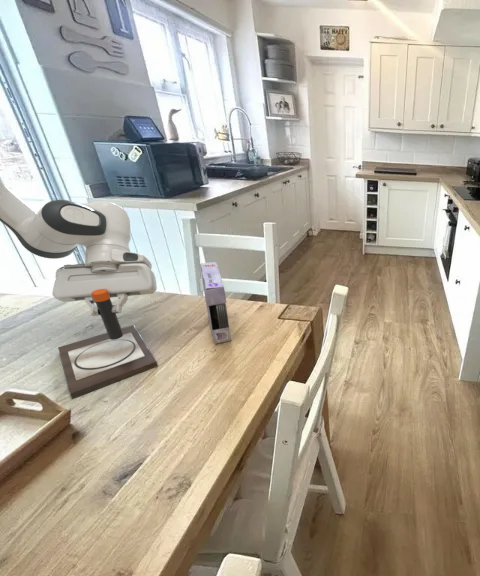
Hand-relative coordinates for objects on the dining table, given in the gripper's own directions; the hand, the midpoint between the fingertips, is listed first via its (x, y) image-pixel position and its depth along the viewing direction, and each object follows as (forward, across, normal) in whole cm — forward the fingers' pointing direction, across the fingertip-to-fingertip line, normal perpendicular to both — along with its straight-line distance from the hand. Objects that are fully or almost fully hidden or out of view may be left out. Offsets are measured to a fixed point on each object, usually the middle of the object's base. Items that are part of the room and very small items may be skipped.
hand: (106, 313), depth 79 cm
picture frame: (+10, -2, +7) cm, 12 cm away
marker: (+4, 0, +6) cm, 7 cm away
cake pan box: (+4, +23, +13) cm, 26 cm away
